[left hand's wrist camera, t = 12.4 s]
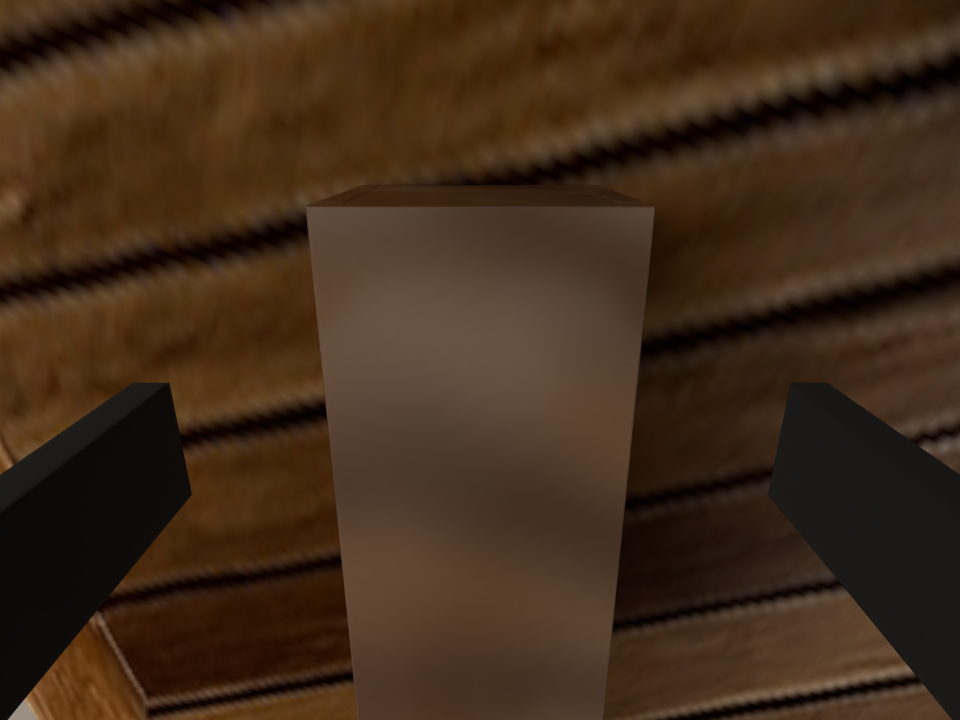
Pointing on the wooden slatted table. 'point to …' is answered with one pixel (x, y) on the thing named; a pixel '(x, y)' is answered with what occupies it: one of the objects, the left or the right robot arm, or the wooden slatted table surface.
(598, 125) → the wooden slatted table surface
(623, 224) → the cabinet
